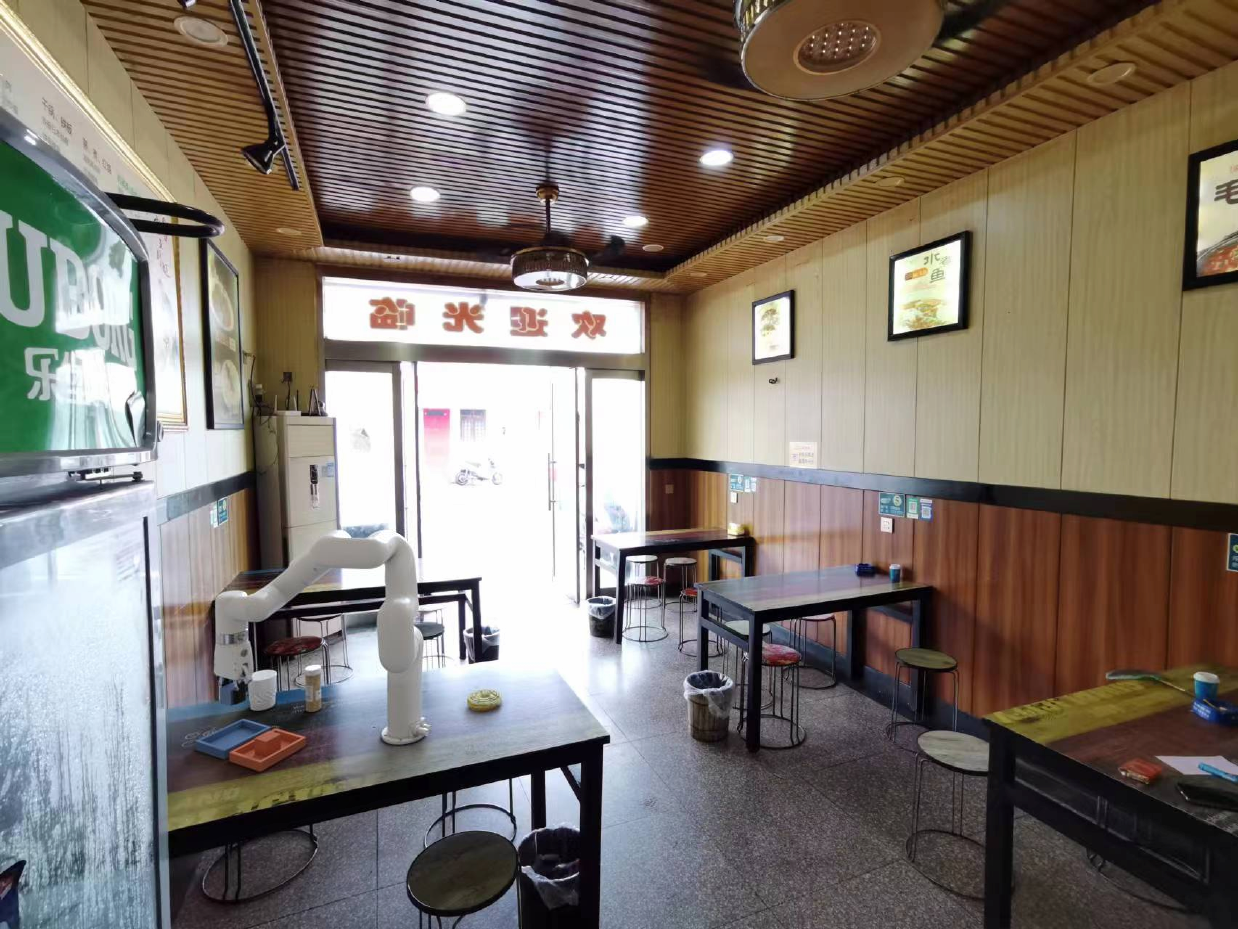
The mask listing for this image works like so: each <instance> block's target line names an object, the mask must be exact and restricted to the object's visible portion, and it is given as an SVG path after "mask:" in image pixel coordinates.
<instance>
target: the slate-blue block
mask: <svg viewBox="0 0 1238 929" xmlns="http://www.w3.org/2000/svg"><path fill="white" fill-rule="evenodd" d="M240 683H241V682H239V684H240ZM234 690H235V687H234V681H233V682H231V683H230V684H228V685H225V686H223V687H220V686H219V704H222V705H225V706H229V707H232V706H235V705H234V704H233V691H234Z"/></svg>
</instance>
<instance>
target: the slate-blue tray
mask: <svg viewBox="0 0 1238 929" xmlns="http://www.w3.org/2000/svg"><path fill="white" fill-rule="evenodd" d="M268 731H272V726H269V725H266V724H263V723H259V722H256V721H252V720H249V719H246V718H242V719H239V720H238V721H235V722H233V723H231V724H229V725H227V726H224V727H222V728H219V729H218V730H216V731H214V732H212V733H210V734H208V735H205V736H203V737H201V738H198V739H197V740H195V742H194V743H195V751H198V752H201V753H204V754H207V755H210V756H213V757H215V758H219V759H222V760H227V759H230V758H229V752H231V751H233V750H235V749H237V748H239V747H241V746H243V745H245V744H247V743H249V742H251V741H252V740H254V738H256V737H258V736H260V735H262V734H264V733H266V732H268Z"/></svg>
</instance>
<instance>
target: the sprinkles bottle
mask: <svg viewBox="0 0 1238 929" xmlns="http://www.w3.org/2000/svg"><path fill="white" fill-rule="evenodd" d="M321 673H322V666H321V665H320V664H312V665H309V666H306V667H305V668H304V676H305V677H304V678H305V685H304V686H305V687H304V688H305V711H306V712H308V713H313V712H318V711H319V710H321V709H322V707H323V706H322V705H323V704H322V679H321V678H322V677H321Z"/></svg>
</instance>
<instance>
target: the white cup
mask: <svg viewBox="0 0 1238 929" xmlns="http://www.w3.org/2000/svg"><path fill="white" fill-rule="evenodd" d="M277 674H278V673H277V671H276V670H273V669H263V670H258V671H253V674H252V675H251V676H252V678H253V680H252V681H251V682H250V683H249V684H248V685H247V691H248V701H249V708H250V710H252V711H257V712H258V711H266V710H268V709H270V708H272V707H274V706H275V704H276V694H277Z"/></svg>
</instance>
